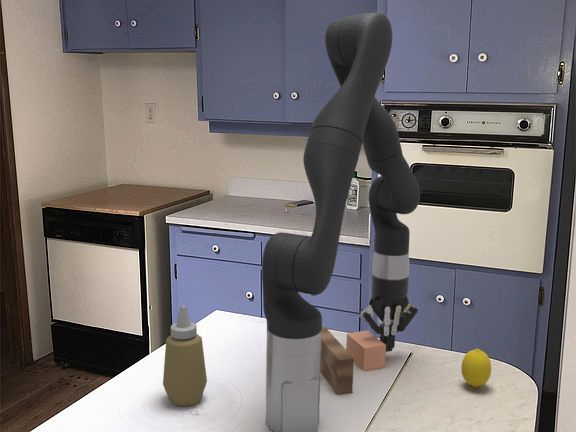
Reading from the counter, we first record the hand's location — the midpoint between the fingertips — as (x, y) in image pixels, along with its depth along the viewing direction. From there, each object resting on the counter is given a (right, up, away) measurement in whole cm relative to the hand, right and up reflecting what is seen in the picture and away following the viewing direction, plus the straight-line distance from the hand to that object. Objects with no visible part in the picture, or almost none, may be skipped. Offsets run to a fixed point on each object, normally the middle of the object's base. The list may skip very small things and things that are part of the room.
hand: (386, 350), depth 130 cm
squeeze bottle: (-40, -5, -18) cm, 44 cm away
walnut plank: (-13, -3, -7) cm, 15 cm away
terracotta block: (-5, -2, -1) cm, 5 cm away
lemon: (+15, -5, -11) cm, 20 cm away
